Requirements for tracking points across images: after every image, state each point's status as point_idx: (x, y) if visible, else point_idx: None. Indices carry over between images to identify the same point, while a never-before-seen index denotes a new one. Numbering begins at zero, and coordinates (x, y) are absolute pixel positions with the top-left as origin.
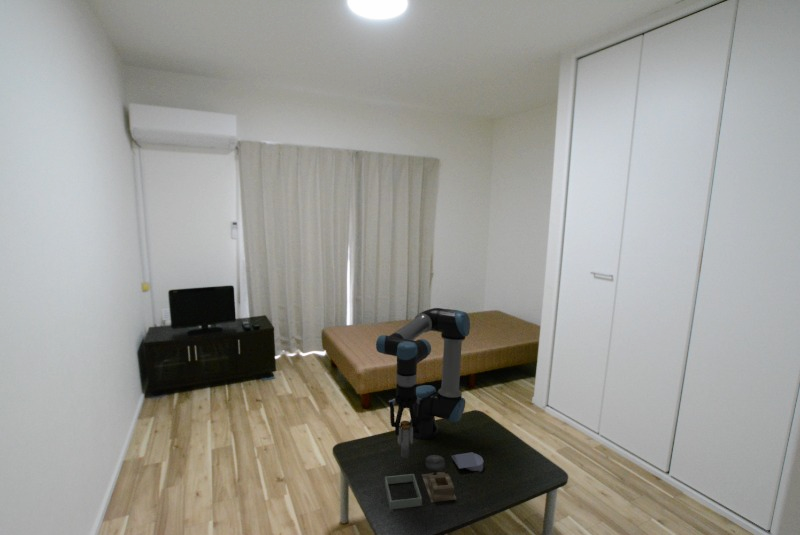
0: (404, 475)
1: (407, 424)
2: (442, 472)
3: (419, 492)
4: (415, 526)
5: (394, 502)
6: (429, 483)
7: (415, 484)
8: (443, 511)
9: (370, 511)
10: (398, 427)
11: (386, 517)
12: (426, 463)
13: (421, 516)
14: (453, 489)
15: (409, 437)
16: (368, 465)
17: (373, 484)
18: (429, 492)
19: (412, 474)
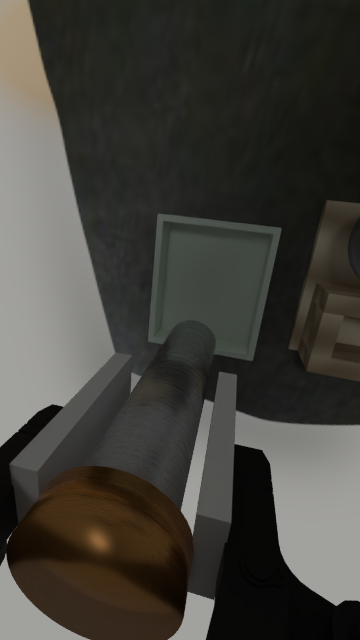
0: (237, 228)
1: (115, 619)
2: None
3: (256, 334)
4: (208, 394)
5: (161, 343)
6: (318, 298)
7: (262, 285)
8: (310, 379)
9: (105, 310)
10: (1, 545)
11: (143, 343)
12: (353, 245)
13: (237, 373)
14: None
15: (216, 389)
16: (128, 60)
17: (130, 195)
18: (305, 307)
19: (273, 231)
